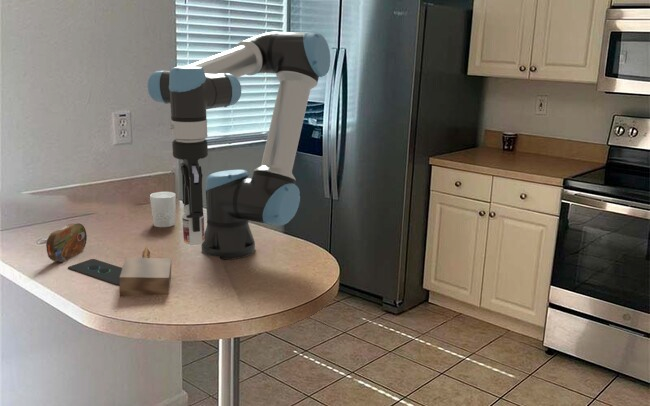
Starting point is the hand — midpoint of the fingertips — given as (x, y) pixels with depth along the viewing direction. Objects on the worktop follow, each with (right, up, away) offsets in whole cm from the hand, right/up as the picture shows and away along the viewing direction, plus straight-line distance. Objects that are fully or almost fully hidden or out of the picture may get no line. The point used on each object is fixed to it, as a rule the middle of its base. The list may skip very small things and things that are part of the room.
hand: (193, 240), depth 139 cm
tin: (-41, -6, +29) cm, 51 cm away
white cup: (-22, +1, +58) cm, 62 cm away
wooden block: (-13, -12, +9) cm, 20 cm away
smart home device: (-26, -11, +17) cm, 33 cm away
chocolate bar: (-19, -8, +28) cm, 35 cm away
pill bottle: (0, -1, 0) cm, 1 cm away
